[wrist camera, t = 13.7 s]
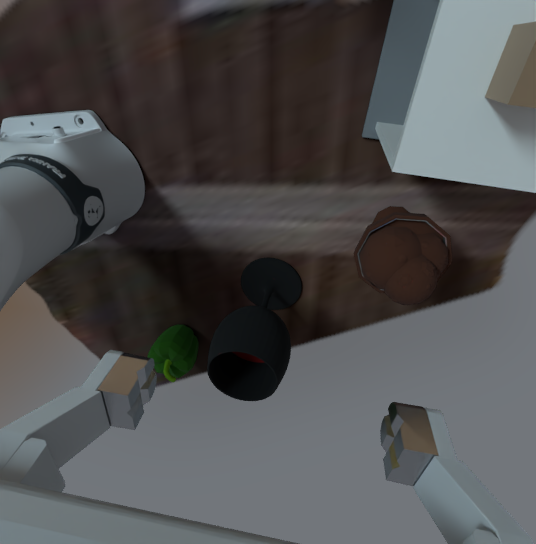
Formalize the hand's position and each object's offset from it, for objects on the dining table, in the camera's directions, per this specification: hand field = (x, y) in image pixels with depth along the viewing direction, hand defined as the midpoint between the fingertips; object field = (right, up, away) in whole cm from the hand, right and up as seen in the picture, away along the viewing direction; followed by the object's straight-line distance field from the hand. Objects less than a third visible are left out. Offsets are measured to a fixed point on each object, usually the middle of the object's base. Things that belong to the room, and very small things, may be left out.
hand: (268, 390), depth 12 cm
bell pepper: (-17, -8, +57) cm, 60 cm away
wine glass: (+1, +2, +46) cm, 46 cm away
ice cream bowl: (+18, +11, +37) cm, 42 cm away
